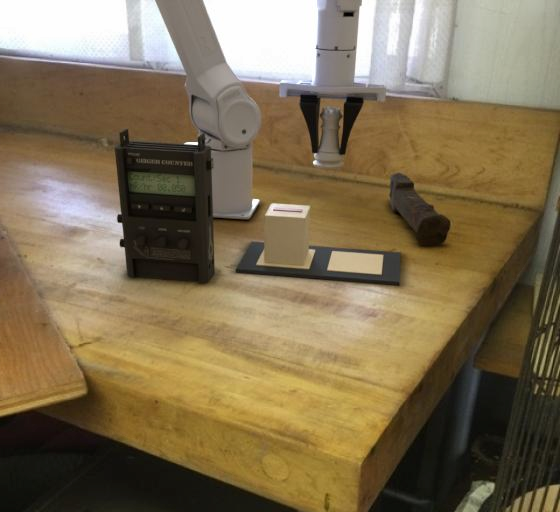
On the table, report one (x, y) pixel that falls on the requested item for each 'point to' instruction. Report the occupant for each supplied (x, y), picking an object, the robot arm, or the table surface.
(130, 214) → the geiger counter
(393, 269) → the word mat
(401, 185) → the hand tool
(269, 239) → the slotted ballot box
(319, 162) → the rook chess piece
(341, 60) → the robot arm
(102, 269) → the table surface
